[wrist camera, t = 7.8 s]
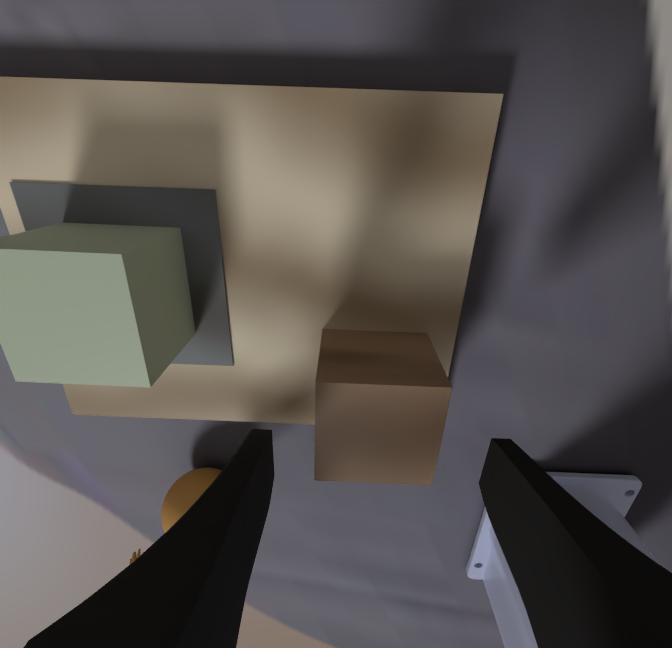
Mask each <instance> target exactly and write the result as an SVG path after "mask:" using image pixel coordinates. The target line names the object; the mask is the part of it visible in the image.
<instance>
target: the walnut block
mask: <svg viewBox="0 0 672 648" xmlns="http://www.w3.org/2000/svg"><path fill="white" fill-rule="evenodd" d="M451 392H452V386H451V384H450V382H449V379H448V377H447V375H446V373H445V371H444V368H443V366H442V364H441V362H440V360H439V358H438V355H437V353H436V351H435V349H434V347H433V344H432V342H431V340H430V338H429V336H428V334H427V333H416V332H390V331H365V330H339V329H322V336H321V343H320V351H319V359H318V366H317V374H316V382H315V480H319V481H342V482H366V483H390V484H414V485H432V484H433V479H434V474H435V469H436V465H437V460H438V455H439V450H440V445H441V440H442V435H443V431H444V426H445V421H446V416H447V411H448V406H449V401H450V396H451Z"/></svg>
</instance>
